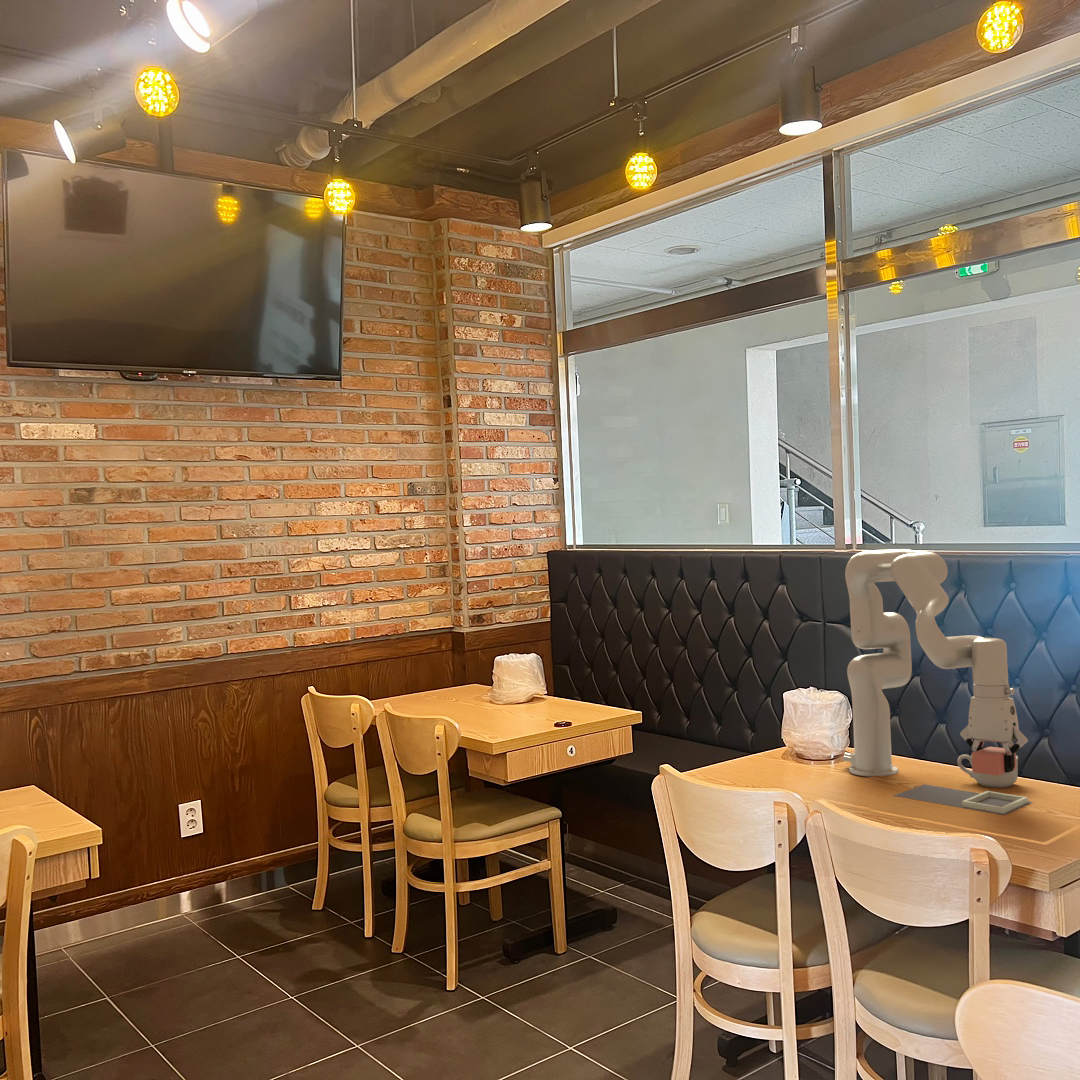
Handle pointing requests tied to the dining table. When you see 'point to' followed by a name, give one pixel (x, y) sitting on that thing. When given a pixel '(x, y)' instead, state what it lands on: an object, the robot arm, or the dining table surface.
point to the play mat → (952, 797)
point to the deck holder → (972, 804)
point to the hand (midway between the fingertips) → (994, 768)
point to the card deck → (990, 761)
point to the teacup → (988, 779)
